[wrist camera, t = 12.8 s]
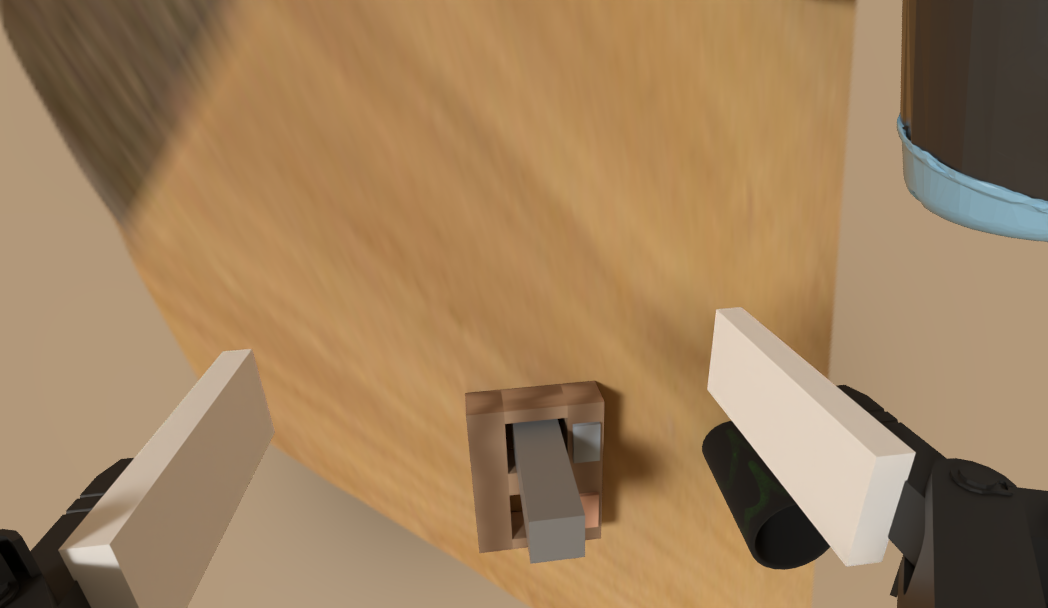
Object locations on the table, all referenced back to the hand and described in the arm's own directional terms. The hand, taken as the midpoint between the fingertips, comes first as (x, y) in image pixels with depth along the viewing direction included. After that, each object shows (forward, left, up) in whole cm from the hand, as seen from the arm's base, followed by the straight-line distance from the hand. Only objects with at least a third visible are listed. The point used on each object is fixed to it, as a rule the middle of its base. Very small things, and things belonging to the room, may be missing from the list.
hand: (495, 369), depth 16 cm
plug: (-4, +23, -29) cm, 37 cm away
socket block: (-4, +27, -29) cm, 40 cm away
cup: (-24, +28, -29) cm, 47 cm away
